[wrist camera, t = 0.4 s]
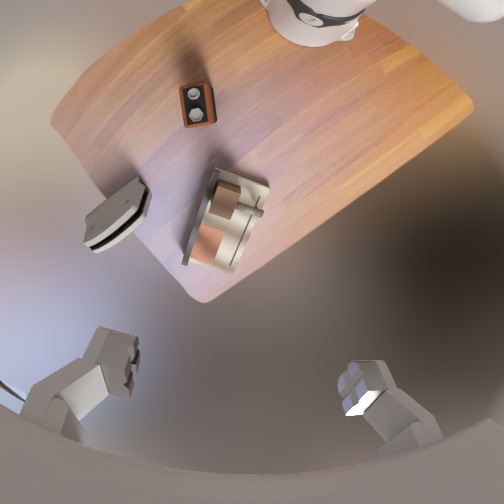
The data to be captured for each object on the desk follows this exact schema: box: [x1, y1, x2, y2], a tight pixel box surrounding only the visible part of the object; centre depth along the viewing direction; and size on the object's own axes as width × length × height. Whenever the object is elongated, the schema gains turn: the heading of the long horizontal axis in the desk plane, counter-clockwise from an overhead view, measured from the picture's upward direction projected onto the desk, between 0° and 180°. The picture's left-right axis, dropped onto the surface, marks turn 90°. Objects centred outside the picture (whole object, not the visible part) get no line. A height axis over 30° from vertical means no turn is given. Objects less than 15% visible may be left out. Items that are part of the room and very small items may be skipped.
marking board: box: [181, 167, 270, 275], centre depth 53 cm, size 20×11×4 cm, turn 158°
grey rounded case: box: [83, 176, 152, 253], centre depth 48 cm, size 17×5×10 cm, turn 118°
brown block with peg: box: [208, 179, 264, 220], centre depth 48 cm, size 5×9×5 cm, turn 68°
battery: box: [179, 82, 217, 128], centre depth 39 cm, size 4×7×10 cm, turn 6°
